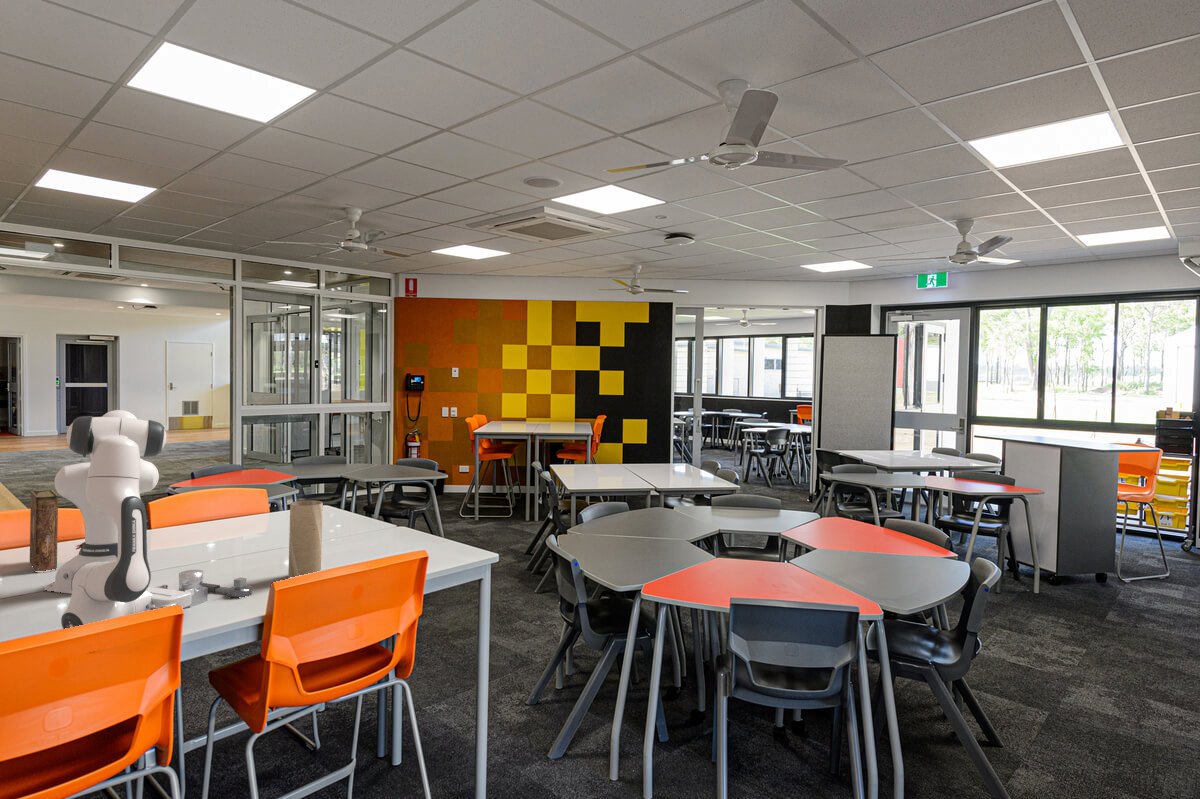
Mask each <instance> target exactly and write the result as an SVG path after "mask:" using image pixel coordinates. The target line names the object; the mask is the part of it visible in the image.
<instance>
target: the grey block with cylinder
mask: <svg viewBox="0 0 1200 799" xmlns="http://www.w3.org/2000/svg"><path fill="white" fill-rule="evenodd" d="M203 583H204V570H202V569H188V570H184V571H181V572H179V573H178V589H177V591H184V592H185V590H186V589H189V588H191V589H194V595H192V596H191V604H190V605H189V606H188V607H187V608H192V606H193V607H194V606H198V605H200V604H203V603H206V602H207V601H208V593H209V592H208V587H203ZM205 601H206V602H205Z"/></svg>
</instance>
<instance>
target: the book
mask: <svg viewBox="0 0 1200 799" xmlns="http://www.w3.org/2000/svg"><path fill="white" fill-rule="evenodd" d="M29 515H30V520H29V526H30V527H29V530H30V531H29V564H30V563H31V564H32V566H33V568H34V570H35V571H46V570H52V569H56V568H57V569H58V530H59V528H58V527H59V526H58V524H59V523H58V522H59V521H58V520H59V518H58V517H59V494H58V493H56V492H55V491H54V490H53V489H50V490H42V491H33V490H31V491H30V514H29ZM31 564H30V565H31ZM32 566H31V567H32ZM33 568H32V569H33ZM34 570H33V571H34ZM35 571H34V572H35Z"/></svg>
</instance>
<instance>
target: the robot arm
mask: <svg viewBox="0 0 1200 799" xmlns="http://www.w3.org/2000/svg"><path fill="white" fill-rule="evenodd" d="M167 438H168V436H167V432H166V430H165V426H164V425H163V424H162V423H161V422H158V421H155V420H151V419H150V420H149V419H148V420H145V419H139V418H137V417H136V415H134V414H133V413H132V412H130V411H128V410H122V409H115V410H111V411H108V412H106V413H105V414H103V415H102V416H92V415H84V416H79V417H76V418H75V419H73V422H72V423H71V424H70V425H69V427H68V429H67V431H66V442H67V445H68V446H69V450H71V451H72V452H73V453H75V454H77V455H81V456H82V457H84V458H86V457H87V455H89V457H90V462H80V463H75V464H74V463H73V464H69V465H64V466H63V467H62V468H61V469H60V470H59V471H57V473H56V475H55V477H54V488H55V490H56V492H57V494H58V495H60V496H61V498H62V497H63V498H64V499H66V500H68V501H70V502H71V503H73V505H75V506H76V507H77V509H79V511H80V513H81V514H82V517H83V524H84V536H85V537H84V542H81V544H80V543H79V544H77V545H75V547H76V548H75V550H79V549H80V550H79V551H78V554H77V555H75V557H73V558H72V559H70V560H68V561H67V562H66V563H64V564H63V565H62V566H60V567H59V568H57V571H56V574H55V580H54V582H51V583H49V584H47V585H46V586H45V588H44V591H45V590H47V591H46V592H51V591H54V592H53V593H60V592H61V594H69V595H70V601H69V604H68V606H67V607H66V610H65V611H63V613H62V615H61V618H60V622H61V627H62V629H63V630H64V629H65V628H70V627H75V626H79V625H84V624H88V623H93V622H97V621H101V620H105V619H110V618H115V617H119V616H124V615H129V614H134V613H138V612H142V611H147V610H153V609H158V608H163V607H167V606H173V605H181V606H183V608H182V609H184V608H189V607H188V606H189V605H190V604H191V596H192V595H194V589H191V588H189V589H186V590H185V592H184V591H177V590H178V589H177V590H175V589H169V588H168V586H169V585H167V584H160V585H154V586H153V585H152V586H150V584H151V578H152V574H151V572H152V571H151V568H150V565H149V560H148V546H147V545H148V540H147V539H148V537H147V531H148V530H147V527H148V526H147V512H146V506H145V504H144V501H143V500H142V499H141V494H143V493H144V494H145V493H147V492H152V490H154V489H155V487H156V486H157V484H158V483H159V479H160V474H159V470H158V468H157V466H155V464H153V462H151V461H147V460H144V459H143V458H150V457H151V458H152V457H156V456H158V455H159V454H161V453H162V450H163V449H164V448H165V445H166V443H167ZM141 457H143V458H141Z"/></svg>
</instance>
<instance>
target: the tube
mask: <svg viewBox="0 0 1200 799" xmlns="http://www.w3.org/2000/svg"><path fill="white" fill-rule="evenodd" d="M323 504H324V503H323V501H320V500H309V499H308V500H299V501H293V502H290V504H289V507H290V508H289V533H288V534H289V538H288V540H289V542H288V572H287V573H288V574H287V576H288V578H287V579H289V578H290V577H295V576H299V575H304V574H308V573H313V572H317V571H320V570H321V571H322V548H323V547H322V544H323V543H322V542H323V512H324V511H323Z"/></svg>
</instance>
